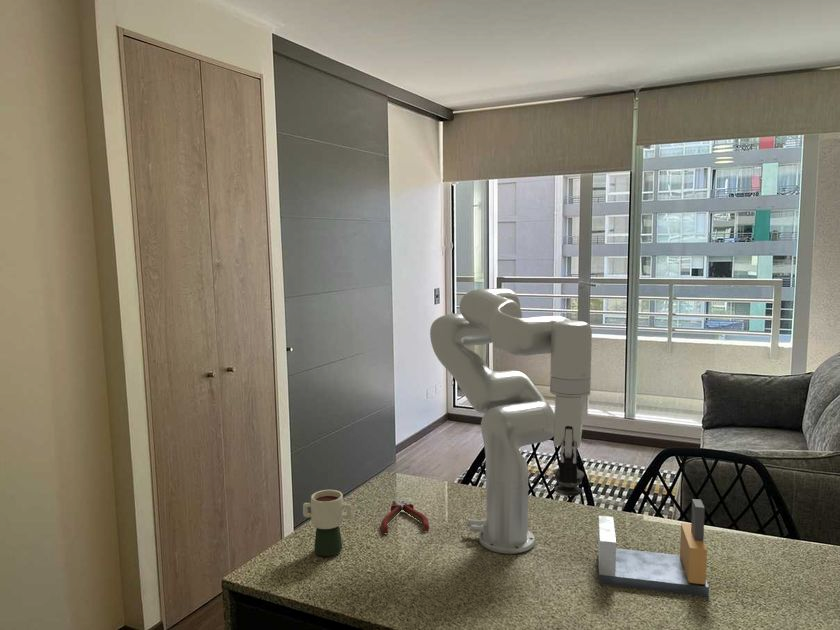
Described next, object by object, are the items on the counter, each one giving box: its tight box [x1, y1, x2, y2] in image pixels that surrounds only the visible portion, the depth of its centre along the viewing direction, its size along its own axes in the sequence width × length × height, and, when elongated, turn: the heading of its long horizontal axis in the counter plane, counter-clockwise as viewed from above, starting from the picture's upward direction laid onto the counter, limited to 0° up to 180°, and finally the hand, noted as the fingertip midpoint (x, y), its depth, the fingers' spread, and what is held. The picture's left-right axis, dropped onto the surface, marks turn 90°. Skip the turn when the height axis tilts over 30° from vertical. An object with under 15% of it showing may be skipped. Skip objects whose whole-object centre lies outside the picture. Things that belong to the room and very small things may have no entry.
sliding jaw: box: [679, 498, 708, 585], centre depth 122 cm, size 3×11×14 cm, turn 165°
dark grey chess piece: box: [553, 443, 585, 497], centre depth 119 cm, size 6×6×12 cm
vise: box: [597, 515, 710, 598], centre depth 125 cm, size 20×12×9 cm, turn 75°
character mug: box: [302, 489, 353, 557], centre depth 136 cm, size 11×7×13 cm, turn 86°
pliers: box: [381, 496, 430, 534], centre depth 155 cm, size 12×20×3 cm, turn 6°
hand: (568, 475), depth 120 cm, fingers closed on dark grey chess piece, 5 cm apart
